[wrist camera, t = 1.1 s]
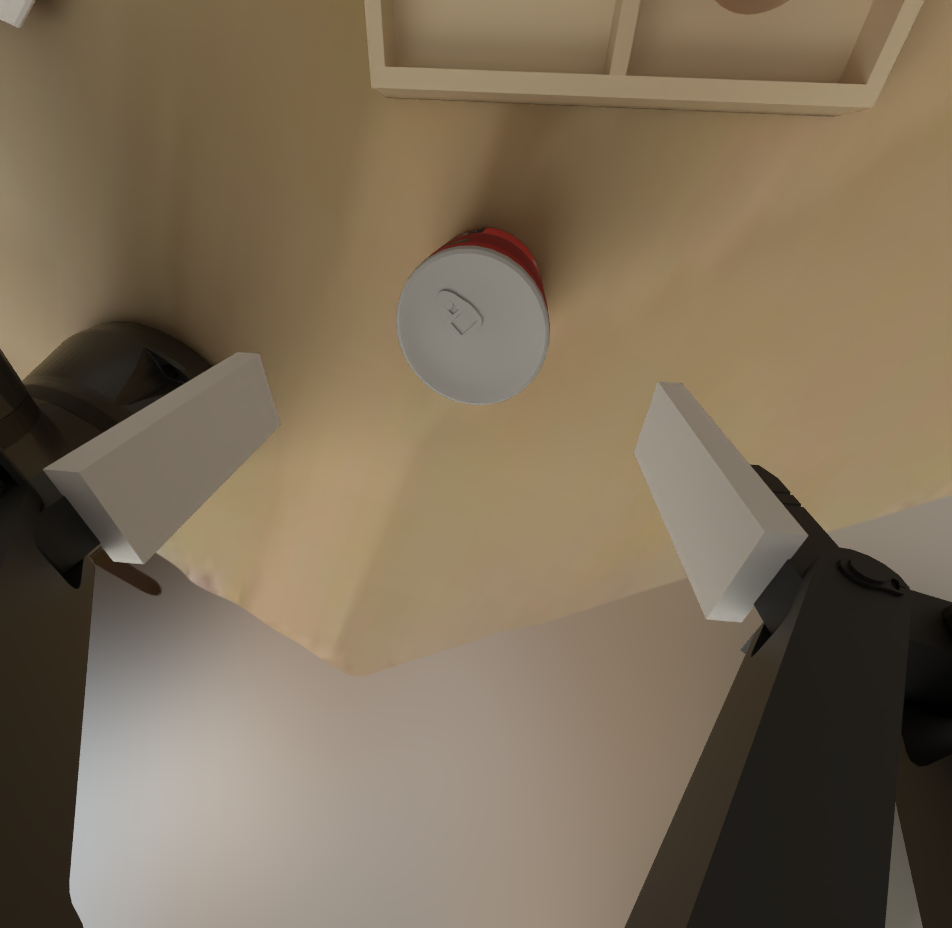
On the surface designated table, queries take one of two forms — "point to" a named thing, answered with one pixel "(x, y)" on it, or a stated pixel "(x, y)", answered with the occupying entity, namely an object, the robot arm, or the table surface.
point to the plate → (15, 11)
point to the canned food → (475, 318)
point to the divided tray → (639, 53)
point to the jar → (750, 5)
